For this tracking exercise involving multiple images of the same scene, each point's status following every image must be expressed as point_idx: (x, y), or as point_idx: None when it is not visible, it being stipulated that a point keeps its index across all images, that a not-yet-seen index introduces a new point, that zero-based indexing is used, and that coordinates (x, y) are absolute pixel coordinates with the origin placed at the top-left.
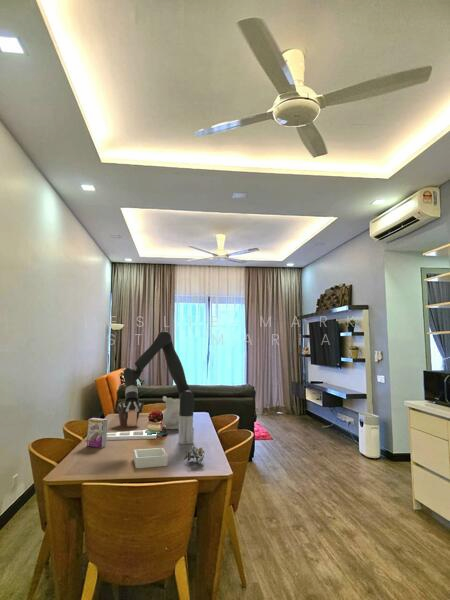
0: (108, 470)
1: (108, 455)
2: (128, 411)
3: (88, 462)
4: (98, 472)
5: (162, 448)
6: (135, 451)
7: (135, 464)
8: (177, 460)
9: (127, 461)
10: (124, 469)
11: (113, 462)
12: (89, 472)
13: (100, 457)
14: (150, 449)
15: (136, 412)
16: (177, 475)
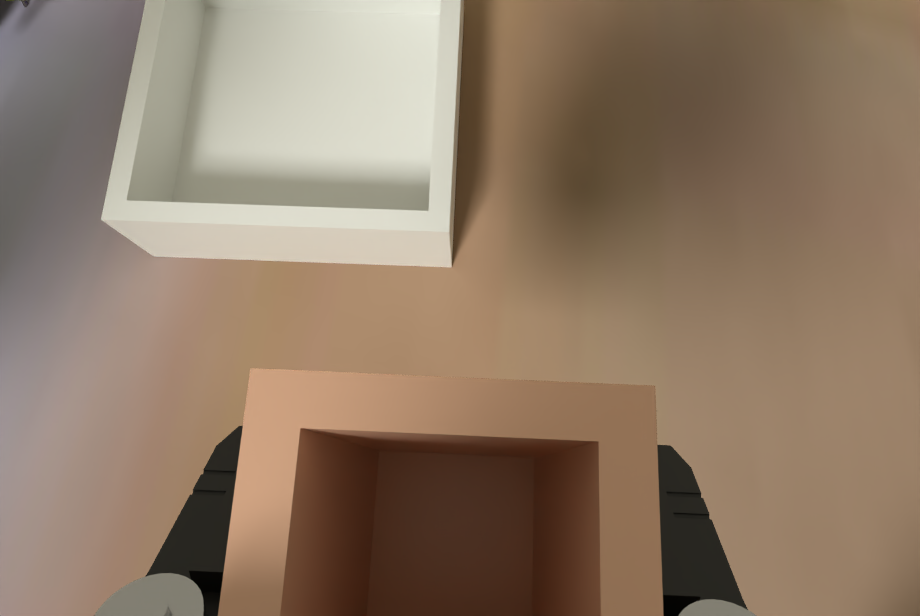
0: (688, 26)
1: (711, 498)
2: (632, 528)
3: (897, 295)
4: (766, 3)
5: (117, 193)
6: (441, 160)
7: (461, 46)
8: (60, 116)
9: (516, 217)
10: (557, 15)
11: (650, 225)
12: (839, 22)
13: (796, 442)
14: (258, 207)
15: (280, 373)
16: None
